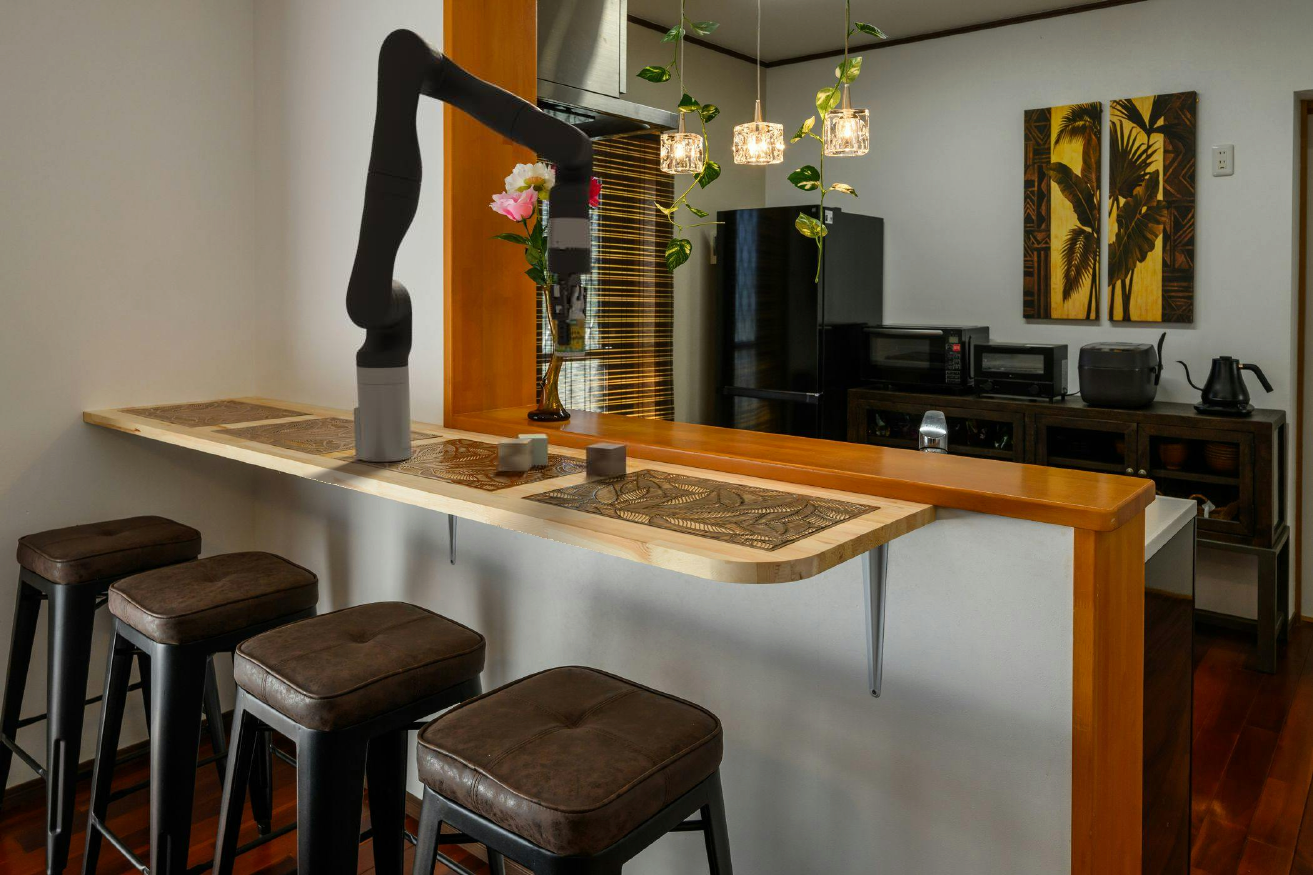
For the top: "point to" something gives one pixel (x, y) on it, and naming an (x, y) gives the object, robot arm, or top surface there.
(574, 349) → the supplement bottle
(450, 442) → the top surface
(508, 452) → the oak block
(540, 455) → the sage block
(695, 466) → the top surface
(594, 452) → the walnut block
